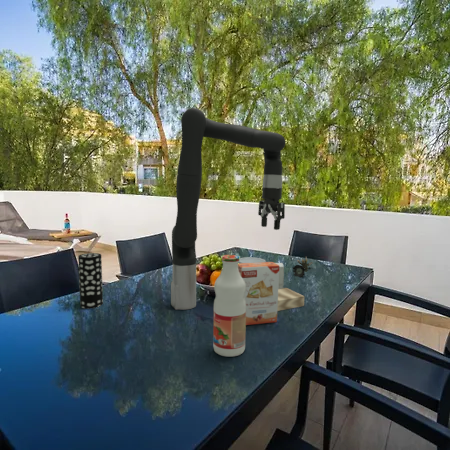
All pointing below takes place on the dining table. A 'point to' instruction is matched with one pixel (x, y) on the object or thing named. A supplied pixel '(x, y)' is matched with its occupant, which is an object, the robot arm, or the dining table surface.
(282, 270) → the supplement box
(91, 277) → the white-spotted black cylinder
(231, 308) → the fruit juice
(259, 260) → the chinaware
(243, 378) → the dining table surface
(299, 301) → the birch plinth
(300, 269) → the artificial flower
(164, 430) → the dining table surface
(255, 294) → the cracker box
